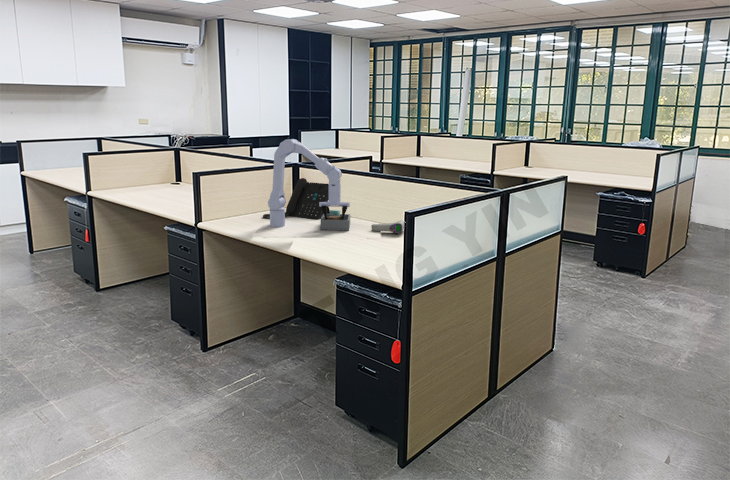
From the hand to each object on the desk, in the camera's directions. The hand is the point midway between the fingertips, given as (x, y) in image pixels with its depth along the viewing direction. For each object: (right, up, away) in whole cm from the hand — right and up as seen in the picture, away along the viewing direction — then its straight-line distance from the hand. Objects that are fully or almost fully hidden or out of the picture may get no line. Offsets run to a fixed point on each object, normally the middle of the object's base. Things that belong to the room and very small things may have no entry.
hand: (334, 221), depth 265 cm
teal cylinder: (0, -1, +7) cm, 7 cm away
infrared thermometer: (+19, -2, +1) cm, 19 cm away
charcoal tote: (0, -3, +5) cm, 5 cm away
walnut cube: (0, -3, +1) cm, 3 cm away
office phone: (-22, +3, +33) cm, 40 cm away
